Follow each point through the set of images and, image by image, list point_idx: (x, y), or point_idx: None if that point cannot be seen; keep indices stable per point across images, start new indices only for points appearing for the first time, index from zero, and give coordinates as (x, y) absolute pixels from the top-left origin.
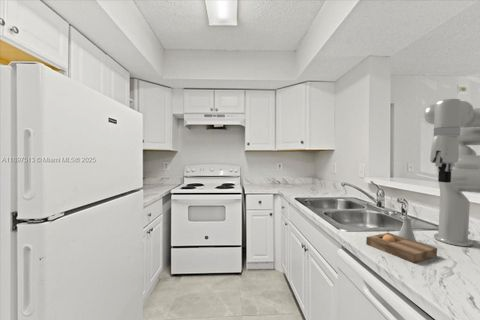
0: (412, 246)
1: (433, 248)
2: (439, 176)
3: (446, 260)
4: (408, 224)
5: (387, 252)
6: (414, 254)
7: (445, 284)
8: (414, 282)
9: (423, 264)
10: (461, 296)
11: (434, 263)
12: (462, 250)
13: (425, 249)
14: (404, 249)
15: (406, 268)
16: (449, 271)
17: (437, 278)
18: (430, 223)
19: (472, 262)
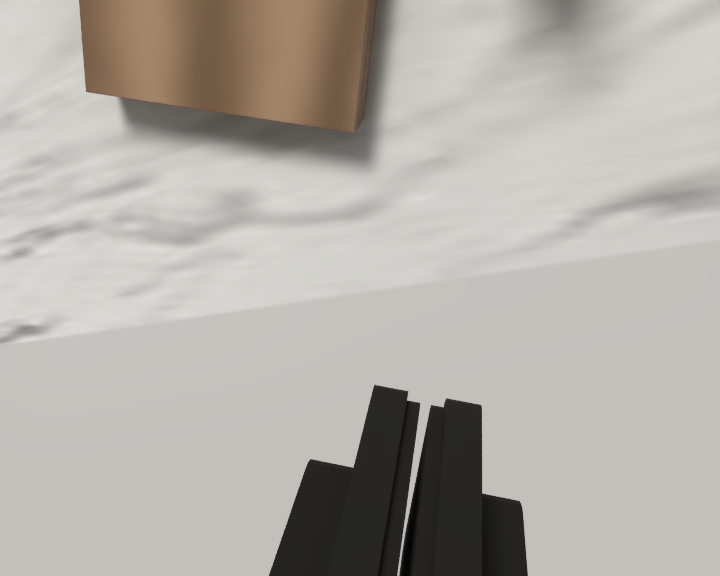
0: (221, 16)
1: (324, 119)
2: (346, 488)
3: (346, 175)
4: None
5: None
6: (88, 91)
7: (39, 252)
8: None
9: (153, 119)
10: (5, 309)
11: (229, 150)
12: (669, 183)
13: (250, 95)
14: (106, 12)
15: (11, 88)
16: (196, 227)
17: (60, 217)
18: None
19: (453, 267)
